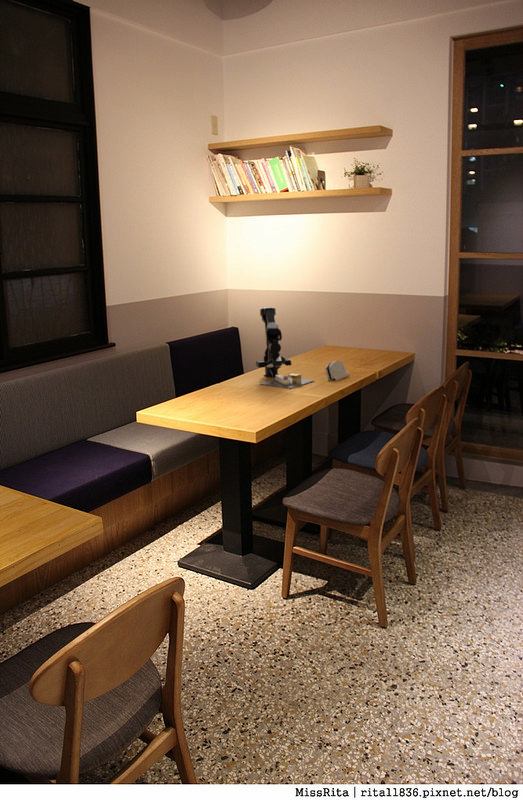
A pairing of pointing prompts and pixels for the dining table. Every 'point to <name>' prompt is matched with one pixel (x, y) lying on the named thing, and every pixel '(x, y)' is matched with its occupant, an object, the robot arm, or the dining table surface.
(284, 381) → the link
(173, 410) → the dining table surface
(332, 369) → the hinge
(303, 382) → the board
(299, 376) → the block
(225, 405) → the dining table surface
